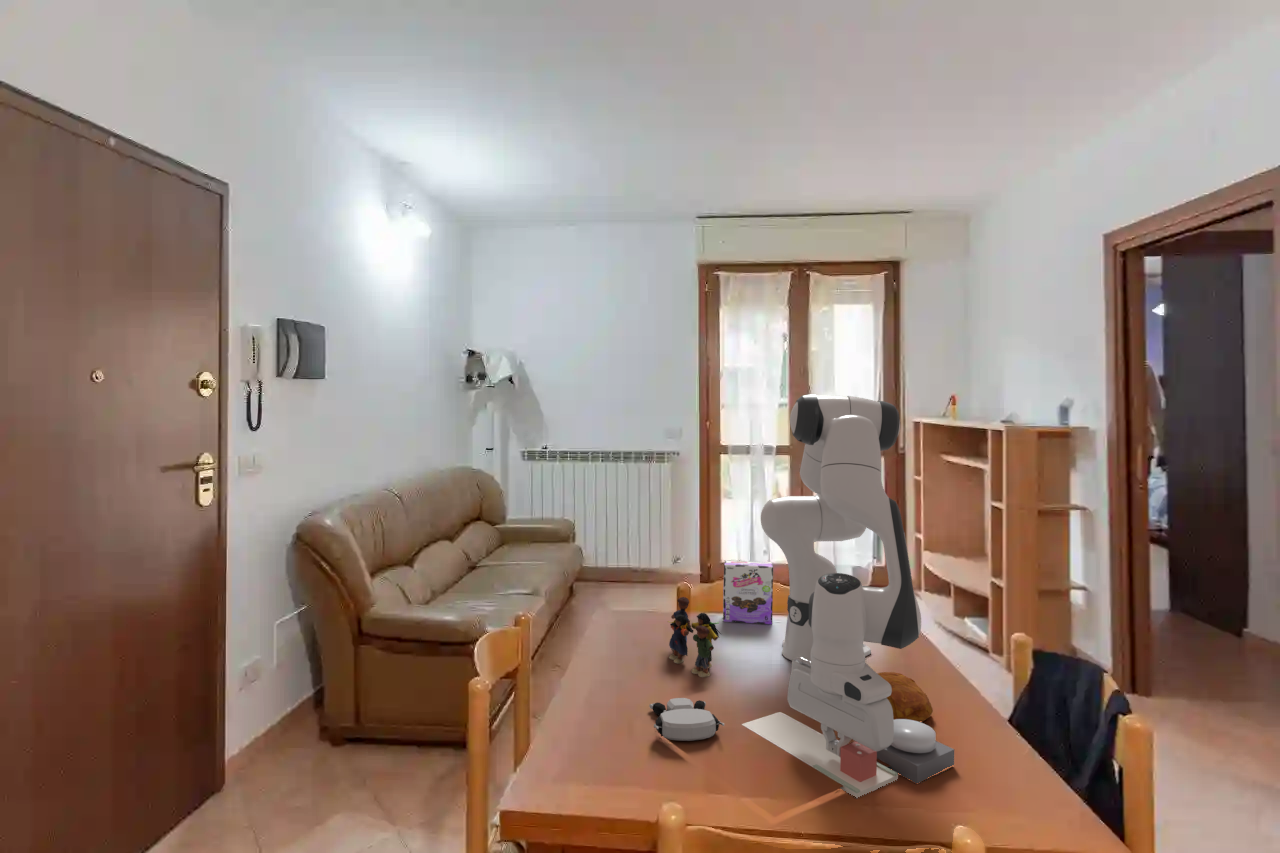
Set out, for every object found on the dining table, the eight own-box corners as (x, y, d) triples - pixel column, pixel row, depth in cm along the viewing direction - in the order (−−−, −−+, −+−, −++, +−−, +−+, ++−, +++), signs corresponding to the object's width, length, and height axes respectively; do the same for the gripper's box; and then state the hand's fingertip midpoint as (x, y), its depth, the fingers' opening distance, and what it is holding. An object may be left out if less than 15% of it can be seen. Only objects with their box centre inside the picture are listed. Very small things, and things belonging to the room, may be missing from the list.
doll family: (647, 650, 170) (647, 596, 169) (676, 643, 175) (676, 591, 174) (707, 681, 151) (708, 621, 150) (738, 672, 156) (738, 614, 156)
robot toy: (646, 718, 135) (657, 751, 120) (646, 695, 135) (657, 725, 120) (707, 715, 136) (725, 747, 121) (707, 692, 136) (725, 721, 122)
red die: (856, 764, 115) (857, 739, 114) (876, 775, 111) (876, 749, 111) (840, 770, 112) (840, 745, 112) (859, 782, 109) (860, 756, 109)
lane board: (780, 715, 134) (780, 710, 134) (897, 779, 111) (897, 773, 111) (729, 732, 127) (729, 726, 127) (843, 804, 104) (843, 797, 104)
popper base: (903, 742, 124) (903, 725, 124) (954, 766, 115) (954, 749, 115) (866, 757, 119) (866, 740, 118) (917, 784, 110) (917, 765, 110)
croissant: (840, 711, 142) (835, 673, 141) (904, 692, 146) (899, 655, 145) (882, 742, 128) (877, 701, 127) (952, 720, 132) (947, 680, 131)
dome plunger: (904, 737, 122) (904, 715, 122) (945, 756, 116) (945, 733, 116) (875, 748, 118) (875, 726, 118) (915, 769, 111) (916, 745, 111)
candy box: (722, 622, 192) (723, 564, 191) (723, 615, 198) (724, 559, 197) (772, 625, 190) (773, 566, 189) (772, 618, 195) (772, 561, 195)
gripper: (780, 656, 123) (778, 732, 123) (874, 698, 105) (873, 786, 106) (804, 650, 126) (803, 723, 126) (900, 689, 109) (898, 774, 109)
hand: (836, 752), depth 116 cm, fingers closed
